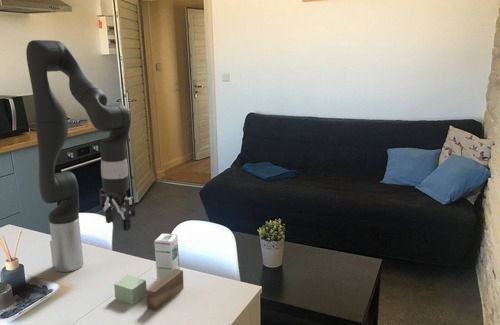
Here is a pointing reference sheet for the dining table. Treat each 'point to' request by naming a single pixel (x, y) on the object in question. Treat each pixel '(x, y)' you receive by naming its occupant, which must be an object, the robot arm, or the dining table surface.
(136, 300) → the sage block
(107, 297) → the dining table surface
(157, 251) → the syrup box
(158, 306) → the walnut board
